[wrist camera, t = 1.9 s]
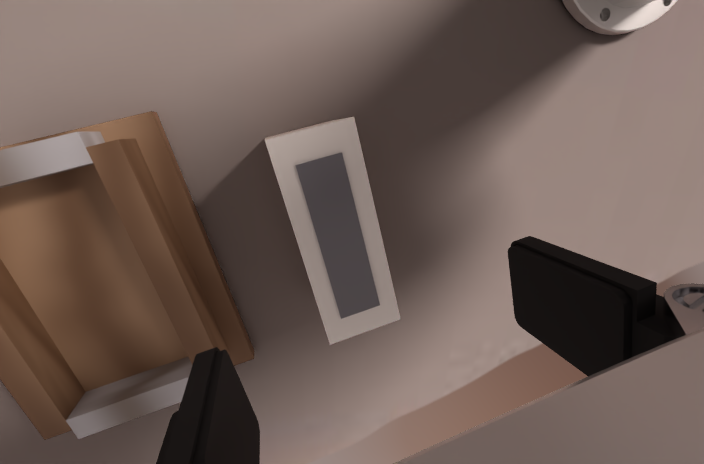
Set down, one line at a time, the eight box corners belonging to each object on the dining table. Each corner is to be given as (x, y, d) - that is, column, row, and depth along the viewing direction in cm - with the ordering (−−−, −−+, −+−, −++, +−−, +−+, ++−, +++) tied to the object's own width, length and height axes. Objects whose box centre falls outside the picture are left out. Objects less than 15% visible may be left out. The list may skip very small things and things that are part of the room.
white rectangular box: (330, 120, 24) (354, 116, 17) (368, 274, 27) (401, 320, 21) (265, 137, 23) (264, 140, 16) (314, 292, 27) (330, 346, 20)
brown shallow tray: (156, 112, 21) (135, 108, 18) (254, 350, 27) (252, 381, 23) (-107, 175, 19) (-185, 184, 16) (61, 418, 25) (30, 462, 21)
